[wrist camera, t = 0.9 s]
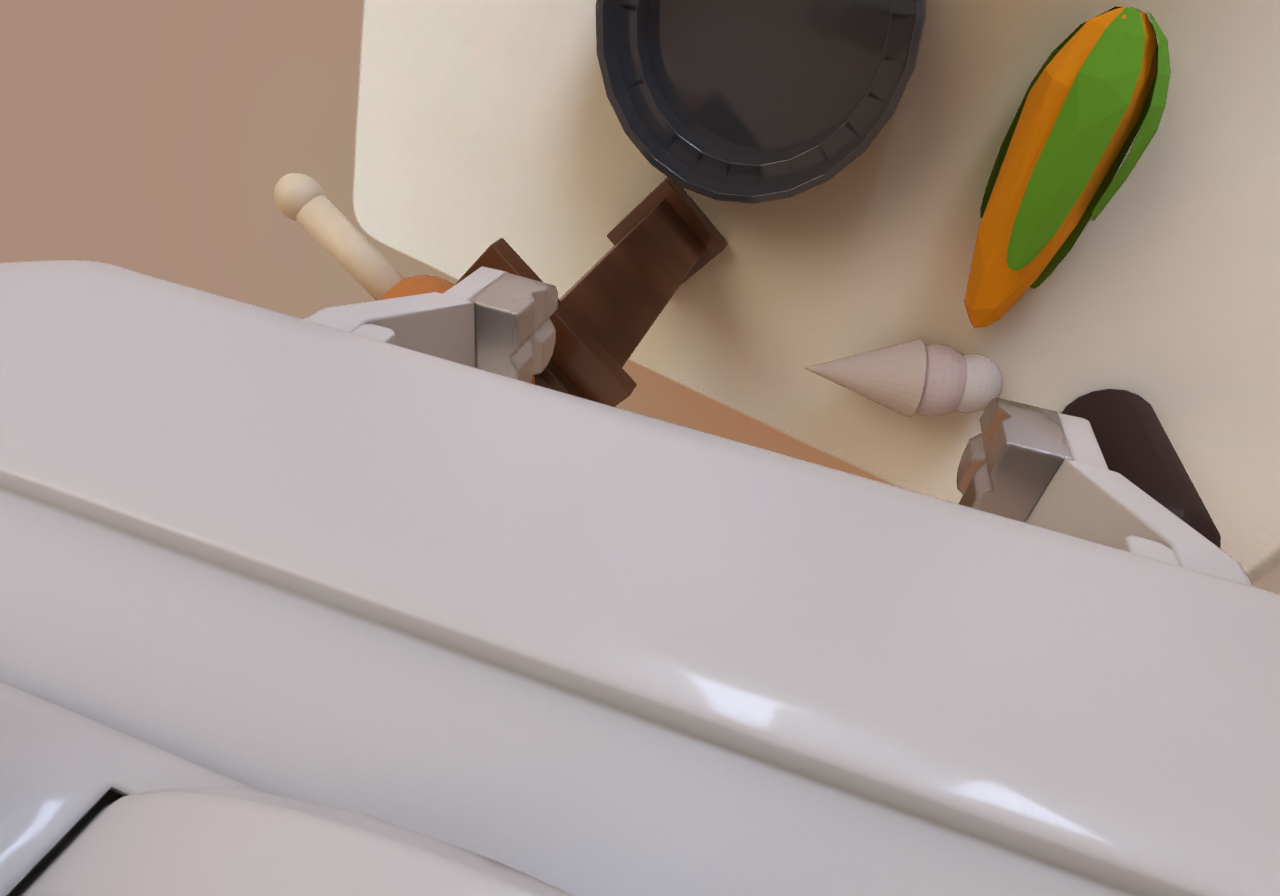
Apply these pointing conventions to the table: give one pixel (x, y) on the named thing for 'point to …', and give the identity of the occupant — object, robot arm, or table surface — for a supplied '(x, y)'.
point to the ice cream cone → (918, 378)
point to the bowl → (755, 86)
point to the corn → (1066, 154)
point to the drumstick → (348, 241)
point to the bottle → (1143, 453)
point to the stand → (619, 292)
